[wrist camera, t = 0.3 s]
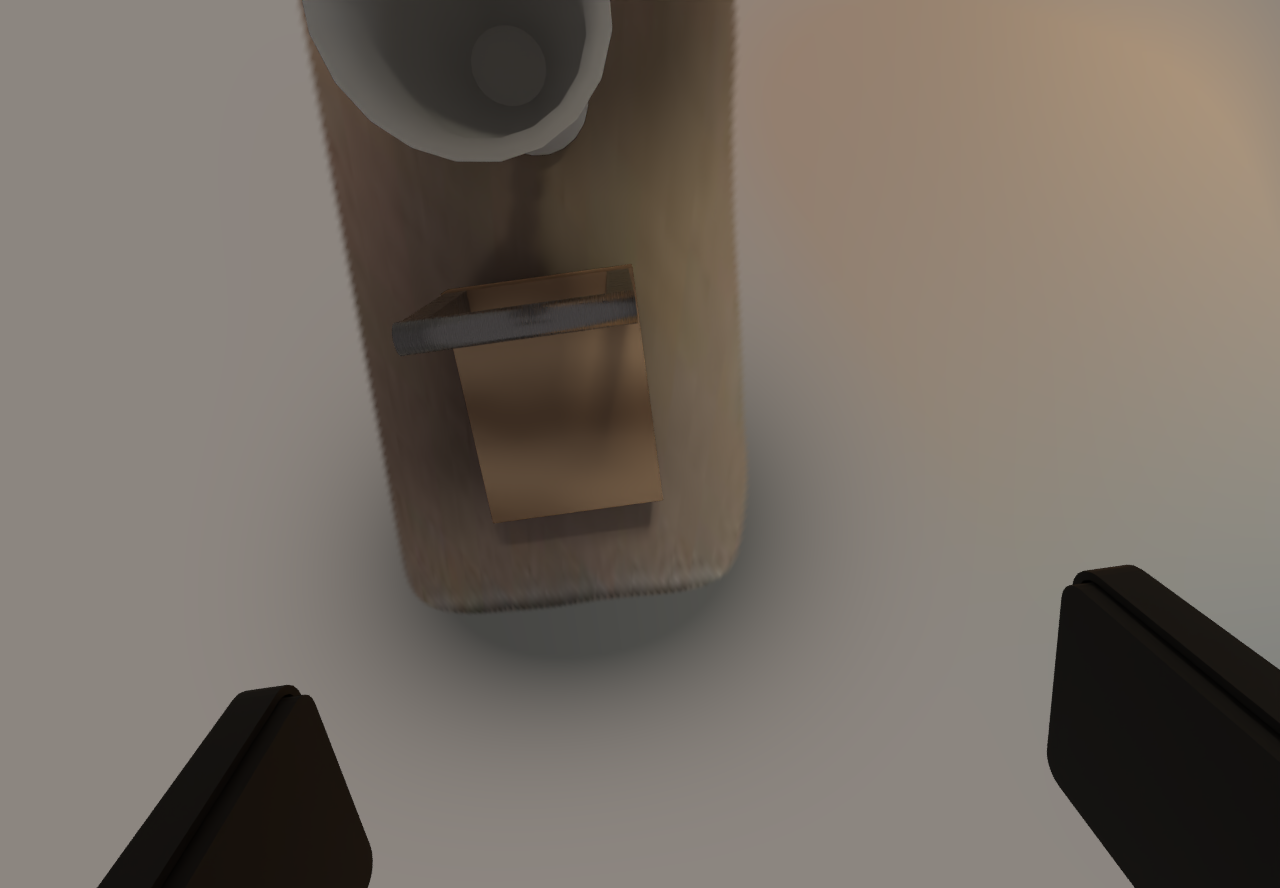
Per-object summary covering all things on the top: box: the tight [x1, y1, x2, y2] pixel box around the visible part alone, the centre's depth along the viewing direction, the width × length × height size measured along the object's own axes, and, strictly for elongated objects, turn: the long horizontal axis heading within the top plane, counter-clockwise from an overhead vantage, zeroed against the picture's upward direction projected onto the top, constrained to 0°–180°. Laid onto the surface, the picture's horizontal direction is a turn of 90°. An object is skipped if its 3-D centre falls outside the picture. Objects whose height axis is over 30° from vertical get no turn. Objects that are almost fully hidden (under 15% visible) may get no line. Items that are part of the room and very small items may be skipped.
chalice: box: [302, 0, 612, 162], centre depth 25 cm, size 7×7×18 cm
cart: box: [392, 264, 663, 523], centre depth 32 cm, size 12×9×13 cm
